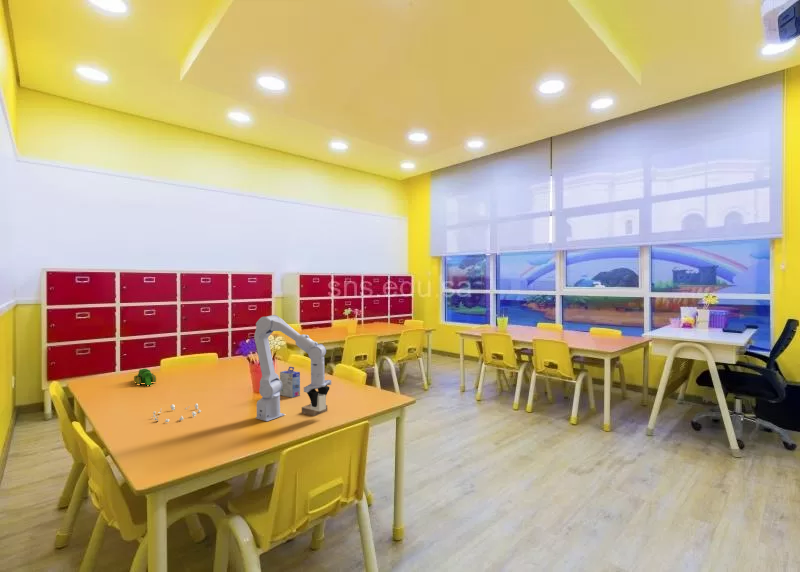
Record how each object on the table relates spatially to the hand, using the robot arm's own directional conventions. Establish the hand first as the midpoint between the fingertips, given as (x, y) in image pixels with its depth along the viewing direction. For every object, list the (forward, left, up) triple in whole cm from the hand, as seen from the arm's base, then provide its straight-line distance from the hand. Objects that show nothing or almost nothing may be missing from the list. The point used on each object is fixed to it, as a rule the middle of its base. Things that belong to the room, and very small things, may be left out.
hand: (318, 405), depth 168 cm
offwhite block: (0, 0, -2) cm, 2 cm away
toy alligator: (-8, +138, -7) cm, 138 cm away
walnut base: (+6, +8, -6) cm, 12 cm away
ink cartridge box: (+18, +38, -6) cm, 42 cm away
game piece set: (-29, +58, -7) cm, 65 cm away
